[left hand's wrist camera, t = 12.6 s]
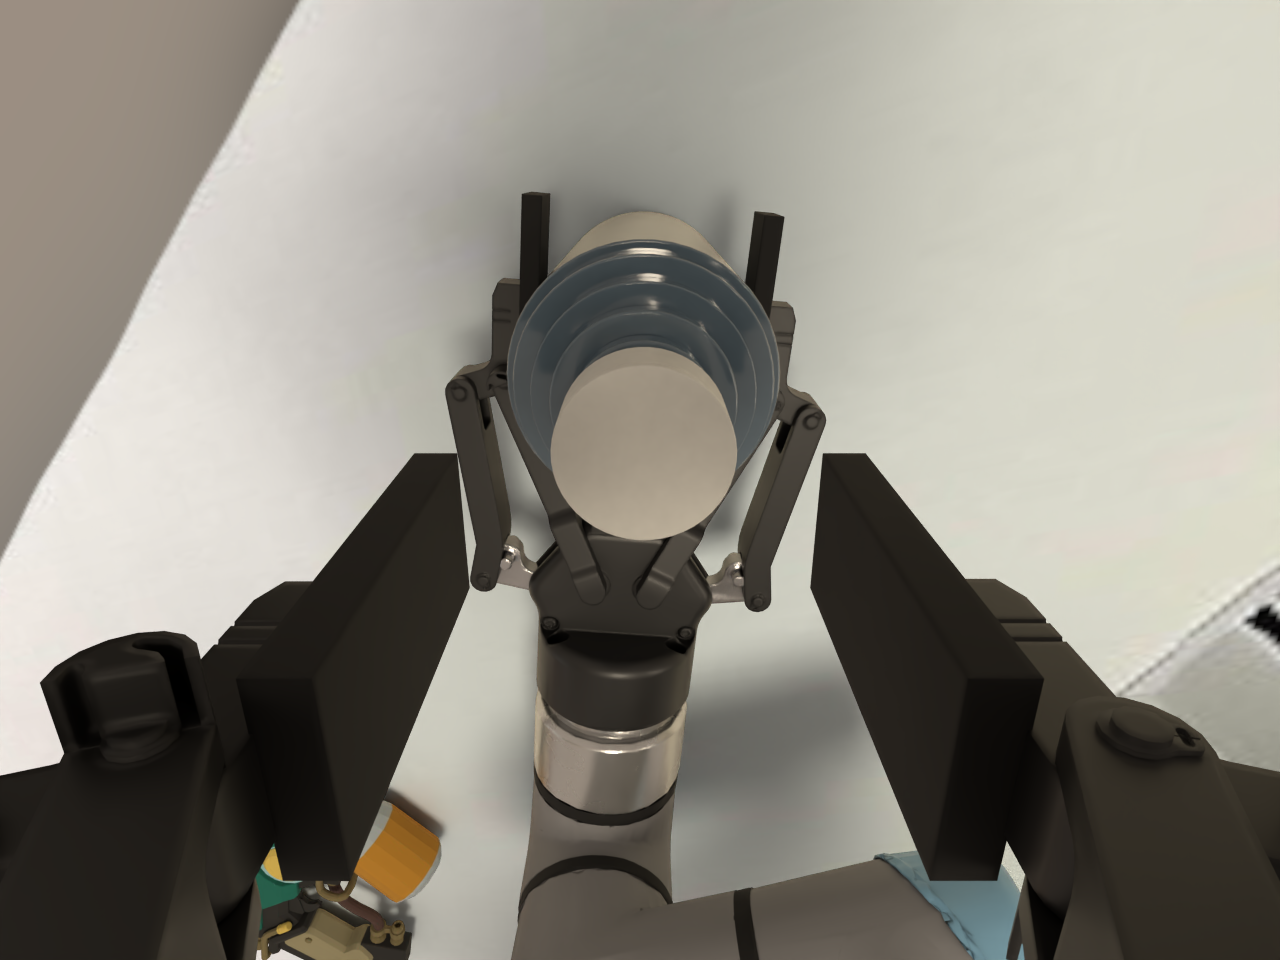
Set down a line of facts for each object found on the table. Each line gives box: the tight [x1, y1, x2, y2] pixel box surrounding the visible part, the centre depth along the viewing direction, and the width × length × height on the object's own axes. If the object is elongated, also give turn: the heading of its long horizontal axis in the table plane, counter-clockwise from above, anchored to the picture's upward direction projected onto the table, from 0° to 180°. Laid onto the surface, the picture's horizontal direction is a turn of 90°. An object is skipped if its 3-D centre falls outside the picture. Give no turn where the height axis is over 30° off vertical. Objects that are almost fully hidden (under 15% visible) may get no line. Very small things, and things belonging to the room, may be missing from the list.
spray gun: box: [255, 801, 441, 960], centre depth 49 cm, size 4×17×15 cm
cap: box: [551, 347, 737, 540], centre depth 18 cm, size 4×4×2 cm
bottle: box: [507, 211, 780, 472], centre depth 28 cm, size 8×8×22 cm
